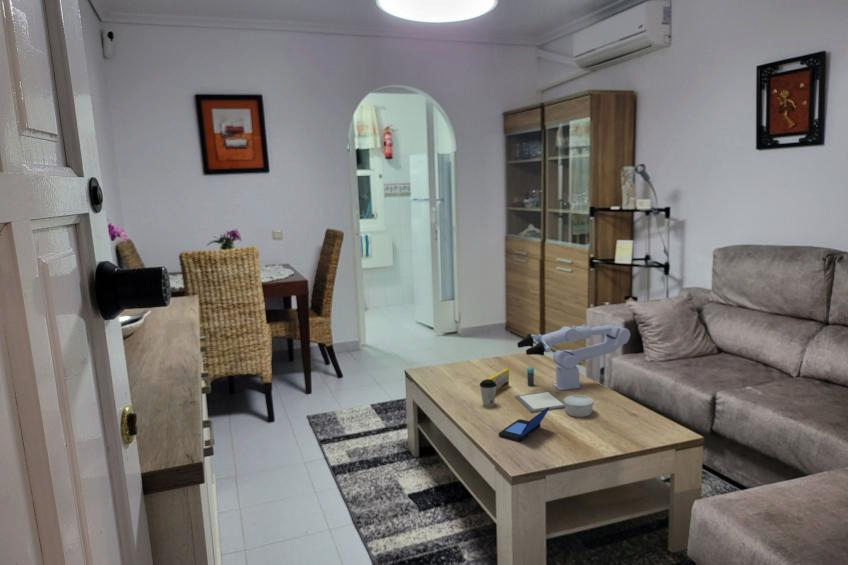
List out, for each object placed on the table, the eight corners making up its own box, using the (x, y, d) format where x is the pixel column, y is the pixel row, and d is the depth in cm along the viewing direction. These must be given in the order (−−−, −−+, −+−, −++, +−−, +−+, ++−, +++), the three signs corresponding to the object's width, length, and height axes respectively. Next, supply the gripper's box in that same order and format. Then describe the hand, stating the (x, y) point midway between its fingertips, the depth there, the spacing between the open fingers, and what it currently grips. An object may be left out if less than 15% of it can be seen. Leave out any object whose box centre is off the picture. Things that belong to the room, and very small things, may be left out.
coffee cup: (496, 408, 233) (495, 384, 231) (479, 407, 234) (478, 384, 233) (497, 401, 240) (497, 378, 238) (481, 401, 241) (480, 378, 240)
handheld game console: (519, 422, 219) (518, 399, 217) (551, 430, 210) (550, 406, 209) (497, 437, 207) (496, 412, 206) (530, 446, 199) (529, 420, 197)
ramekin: (593, 408, 228) (593, 395, 227) (593, 419, 217) (593, 406, 216) (564, 406, 231) (564, 394, 230) (563, 417, 220) (563, 404, 220)
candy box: (491, 398, 245) (490, 379, 243) (486, 397, 246) (486, 378, 244) (509, 386, 257) (509, 368, 256) (505, 385, 259) (504, 368, 257)
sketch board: (549, 392, 247) (549, 390, 247) (569, 407, 230) (569, 405, 230) (514, 397, 244) (514, 395, 244) (531, 412, 226) (531, 410, 226)
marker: (532, 383, 259) (532, 366, 257) (535, 385, 256) (534, 368, 254) (526, 384, 258) (525, 367, 257) (529, 386, 255) (528, 369, 254)
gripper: (541, 325, 252) (513, 333, 249) (558, 338, 239) (529, 347, 236) (542, 339, 255) (514, 348, 251) (559, 353, 242) (531, 362, 238)
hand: (522, 348), depth 244 cm, fingers open, 7 cm apart
